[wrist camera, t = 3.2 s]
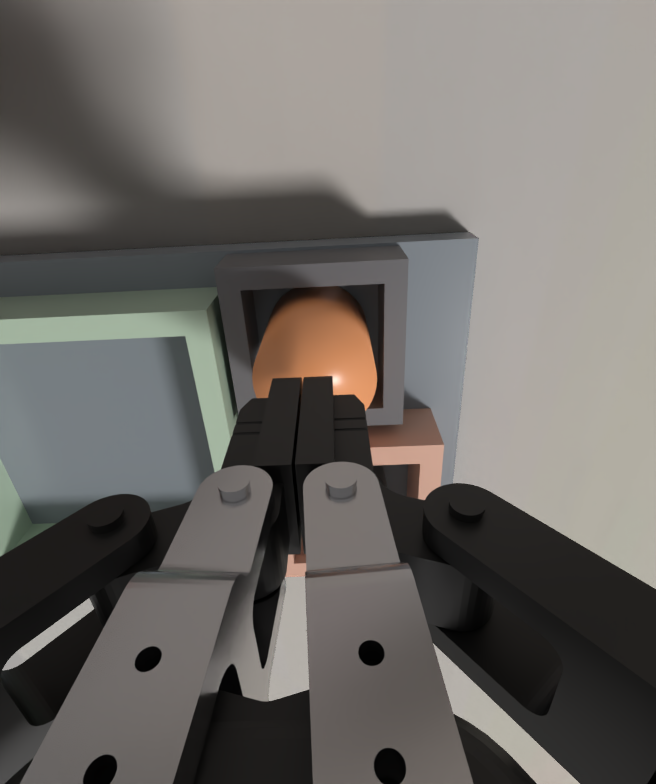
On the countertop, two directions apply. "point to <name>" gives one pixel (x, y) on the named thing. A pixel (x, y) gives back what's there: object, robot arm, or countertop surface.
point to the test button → (317, 343)
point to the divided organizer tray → (209, 364)
